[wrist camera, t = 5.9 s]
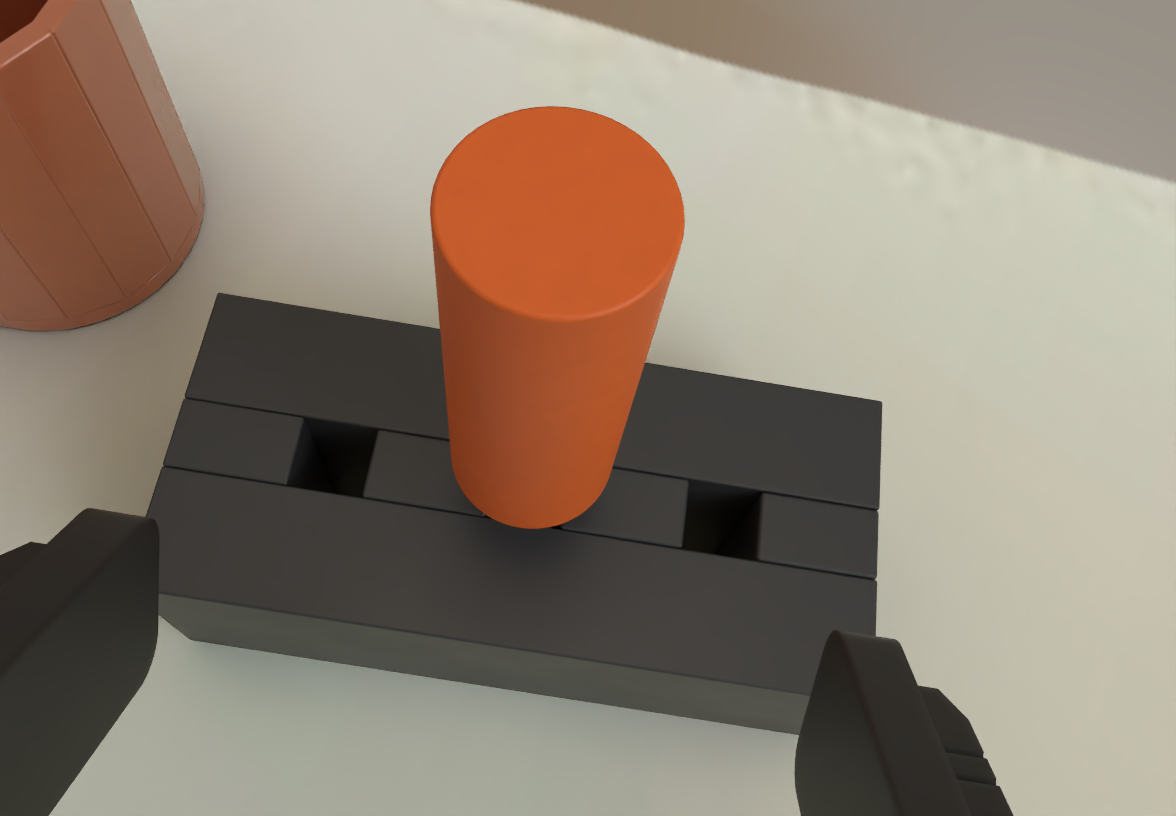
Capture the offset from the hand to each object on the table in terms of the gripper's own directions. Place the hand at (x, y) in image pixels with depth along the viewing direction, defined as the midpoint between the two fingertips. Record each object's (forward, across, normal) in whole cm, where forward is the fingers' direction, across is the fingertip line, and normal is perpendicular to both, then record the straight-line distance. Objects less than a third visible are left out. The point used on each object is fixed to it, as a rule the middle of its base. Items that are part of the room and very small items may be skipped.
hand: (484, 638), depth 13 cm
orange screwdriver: (+12, 0, +6) cm, 14 cm away
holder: (+12, 0, +6) cm, 14 cm away
